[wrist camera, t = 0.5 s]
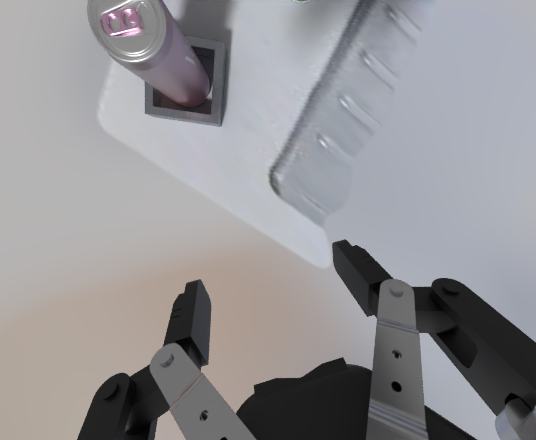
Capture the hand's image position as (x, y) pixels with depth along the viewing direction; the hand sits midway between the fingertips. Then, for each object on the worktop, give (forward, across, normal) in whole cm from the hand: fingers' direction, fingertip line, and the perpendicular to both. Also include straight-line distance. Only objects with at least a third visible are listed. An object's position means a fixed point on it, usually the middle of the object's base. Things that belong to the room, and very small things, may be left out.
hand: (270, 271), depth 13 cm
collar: (+27, +4, -12) cm, 30 cm away
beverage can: (+28, +4, -12) cm, 30 cm away
